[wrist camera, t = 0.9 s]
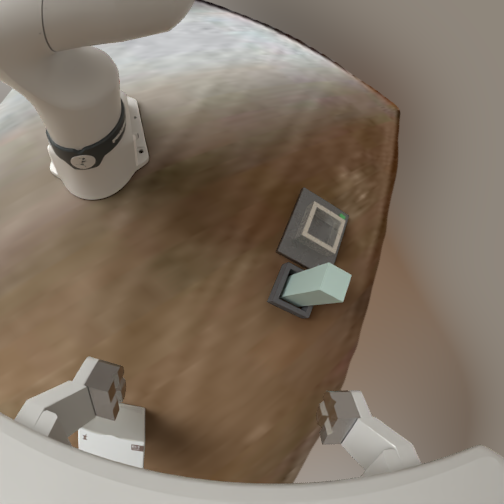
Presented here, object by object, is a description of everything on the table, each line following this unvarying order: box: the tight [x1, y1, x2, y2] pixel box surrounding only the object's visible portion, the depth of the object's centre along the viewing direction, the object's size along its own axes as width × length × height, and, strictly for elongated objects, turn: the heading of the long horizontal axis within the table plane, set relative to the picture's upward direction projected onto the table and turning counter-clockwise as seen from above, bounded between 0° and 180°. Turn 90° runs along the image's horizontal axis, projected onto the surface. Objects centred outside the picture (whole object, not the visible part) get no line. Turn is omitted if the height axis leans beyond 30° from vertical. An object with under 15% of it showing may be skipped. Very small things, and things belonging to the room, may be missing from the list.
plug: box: [279, 262, 352, 307], centre depth 45 cm, size 4×4×14 cm
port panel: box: [276, 188, 349, 269], centre depth 53 cm, size 14×11×4 cm
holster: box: [267, 262, 313, 318], centre depth 50 cm, size 7×7×2 cm
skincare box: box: [78, 403, 145, 468], centre depth 31 cm, size 8×6×15 cm
